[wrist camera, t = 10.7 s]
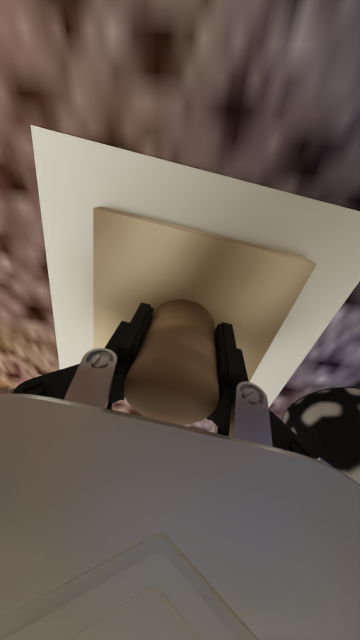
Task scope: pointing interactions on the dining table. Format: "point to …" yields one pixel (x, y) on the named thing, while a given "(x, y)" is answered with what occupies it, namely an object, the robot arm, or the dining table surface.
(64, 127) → the dining table surface
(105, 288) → the wooden lid
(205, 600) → the robot arm
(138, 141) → the dining table surface
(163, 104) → the dining table surface
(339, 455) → the spotted tube
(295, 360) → the white flat block
